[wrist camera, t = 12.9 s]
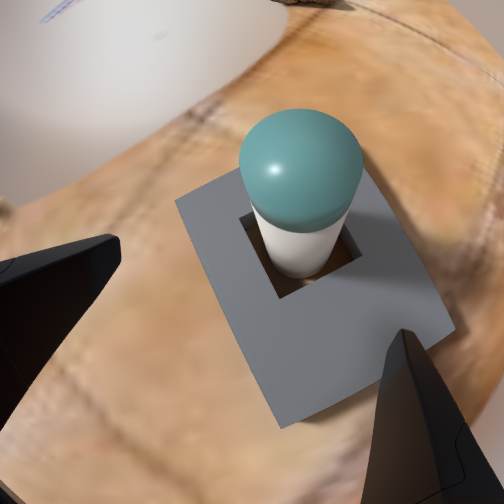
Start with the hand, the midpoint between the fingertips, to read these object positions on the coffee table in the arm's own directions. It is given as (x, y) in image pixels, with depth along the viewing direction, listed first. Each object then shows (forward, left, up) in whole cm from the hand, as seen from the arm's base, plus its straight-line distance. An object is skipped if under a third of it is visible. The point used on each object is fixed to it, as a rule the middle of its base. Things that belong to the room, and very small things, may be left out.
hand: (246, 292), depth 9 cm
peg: (+4, -4, -14) cm, 15 cm away
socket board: (+2, -4, -14) cm, 14 cm away
